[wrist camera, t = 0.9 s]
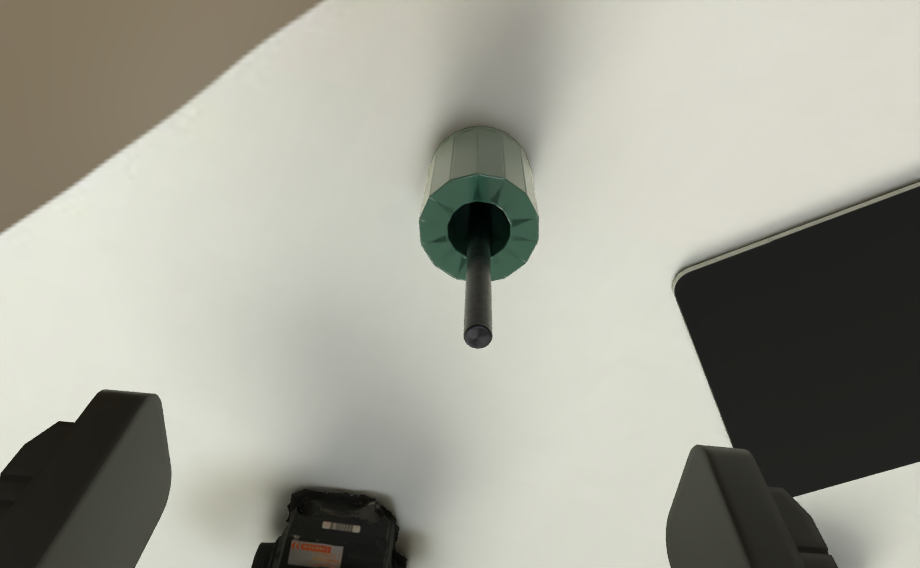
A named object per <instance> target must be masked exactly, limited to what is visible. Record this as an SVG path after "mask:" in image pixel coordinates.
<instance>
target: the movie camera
mask: <svg viewBox="0 0 920 568" xmlns="http://www.w3.org/2000/svg"><path fill="white" fill-rule="evenodd" d="M291 496H292V497H291V502H290V504H289V505H288V509H289V517H288V519H287V520H286V522H288V525H287V526H286V528H285V530H284V532H283V534H282V536H280V537H279V538H278V539H277V540H276V542H274V543H261V544H260V545H259V547H258V549H257V552H256V554H255V557H254V560H253V564H252V567H251V568H406V562H407V559H406V558H405V557H404V556H402V555H400V554H399V553H397V552H396V551H395V548H394V547H395V544H396V541H397V539H398V537H397V535H398V531H399V527H398V525H397V524H396V519H395V517H394V516H393V515H392V513H391V512H390V511H389V510H386V508H384V506H382V505H381V504H380V503H378V501H376V499H375V498H370V497H368V496H365V495H360V496H356V495H354V496H353V495H350V494H348V493H343V494H342V493H326V492H317V491H311V490H306V489H304V490H302V491H299V492H297V493H296V492H295V493H293V494H292V495H291ZM308 501H315V502H317V503H318V504H320V507H321V511H320V512H319V513H318V514H313V515H312V514H311V515H304V514H303V512H302V511H301V510H300V507H301V506H303V505H304V504H305V503H306V502H308ZM371 504H376V509H375V512H376V513H377V514H378V515H379V516H380V517H381V518H382V520H381V521H379V522H376V523H372V522H368V521H366V520H361V519H360V518H359V516H358V513H359V511H360V510H361V509H362V508H364V507H366V506H368V505H371Z"/></svg>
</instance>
